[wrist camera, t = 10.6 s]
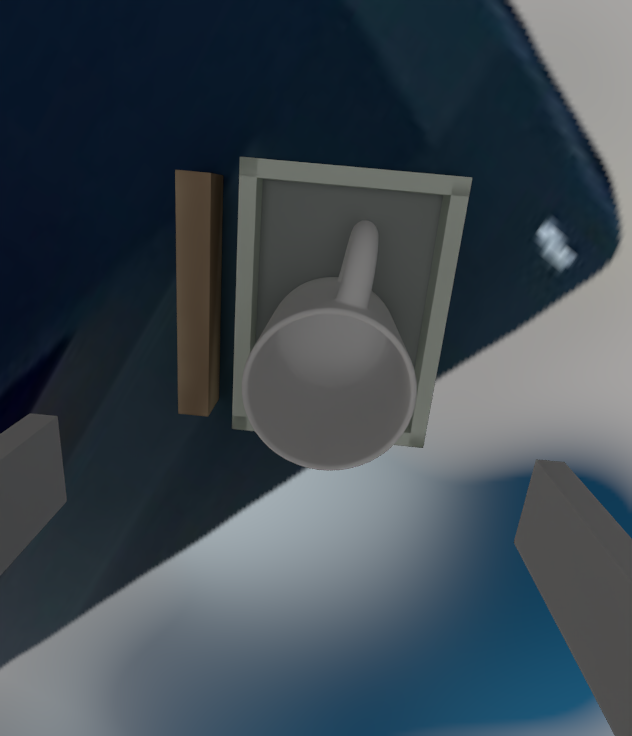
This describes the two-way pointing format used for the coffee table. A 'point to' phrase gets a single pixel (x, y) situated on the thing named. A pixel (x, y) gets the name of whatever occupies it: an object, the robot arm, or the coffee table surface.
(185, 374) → the edge rail
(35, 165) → the coffee table surface
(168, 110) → the coffee table surface
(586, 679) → the robot arm
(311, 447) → the mug
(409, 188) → the frame
